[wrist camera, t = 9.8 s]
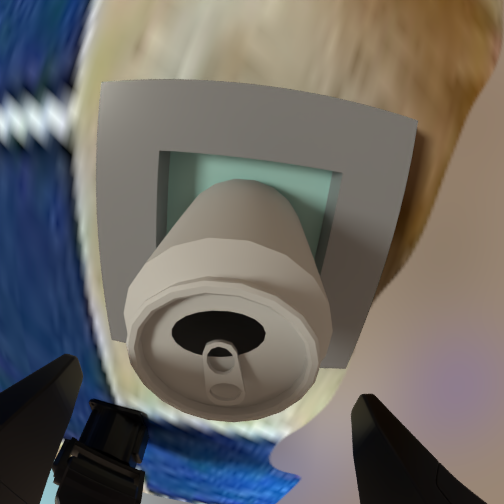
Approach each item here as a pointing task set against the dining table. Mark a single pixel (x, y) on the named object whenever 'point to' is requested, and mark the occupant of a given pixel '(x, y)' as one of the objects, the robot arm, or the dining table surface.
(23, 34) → the dining table surface
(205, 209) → the can
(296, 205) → the pocket frame
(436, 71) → the dining table surface
